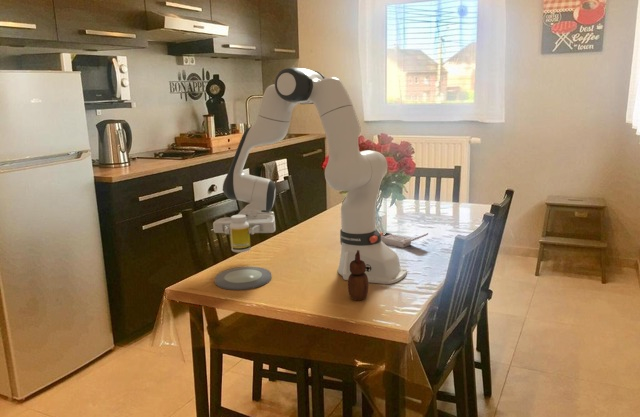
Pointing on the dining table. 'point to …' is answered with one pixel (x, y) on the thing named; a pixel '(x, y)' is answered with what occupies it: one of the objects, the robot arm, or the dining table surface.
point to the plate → (243, 278)
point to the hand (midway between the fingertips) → (238, 232)
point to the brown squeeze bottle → (358, 279)
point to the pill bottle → (239, 234)
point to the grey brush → (397, 240)
